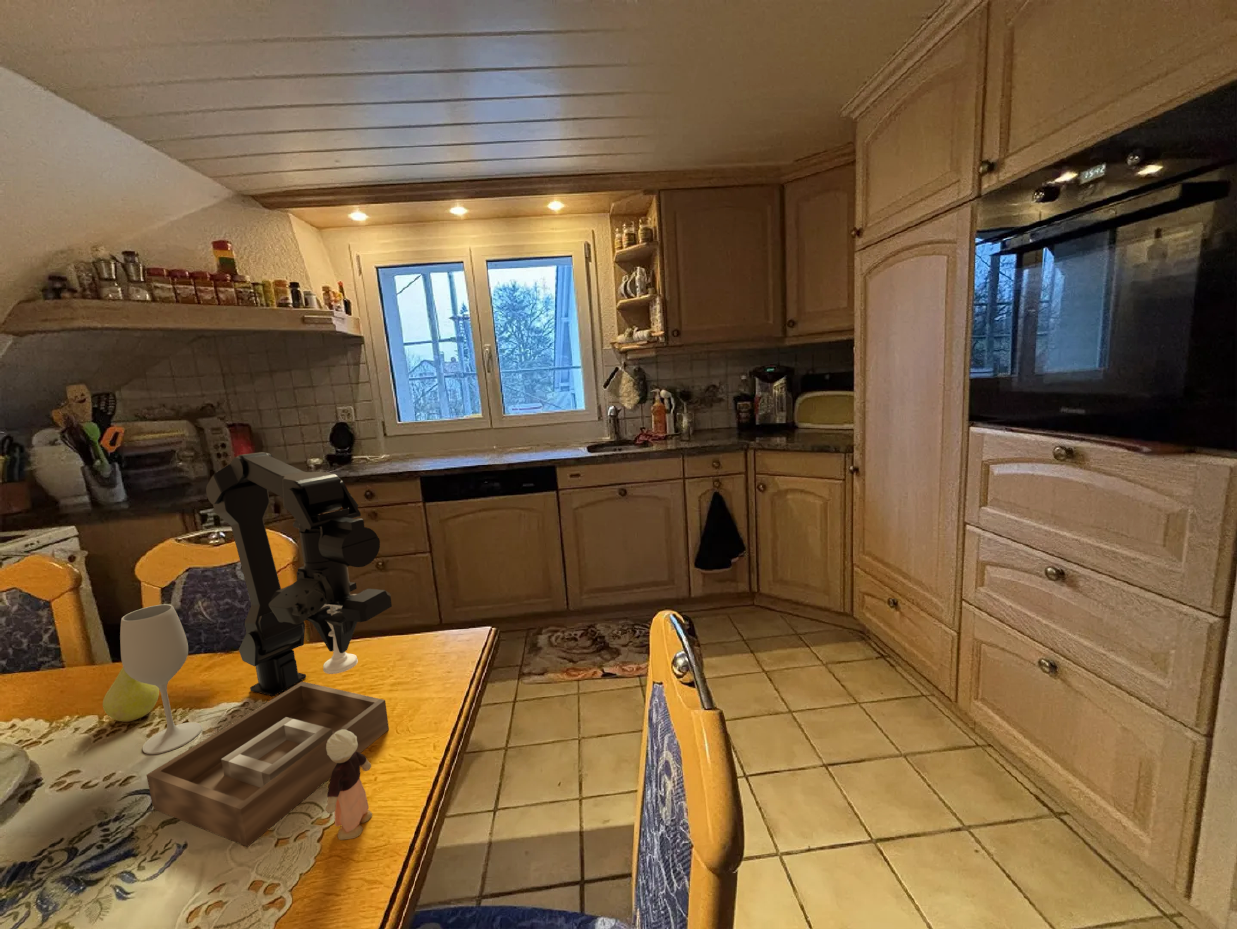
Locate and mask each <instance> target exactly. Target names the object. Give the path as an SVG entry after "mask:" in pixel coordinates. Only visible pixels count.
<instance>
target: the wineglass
mask: <svg viewBox="0 0 1237 929" xmlns="http://www.w3.org/2000/svg"><path fill="white" fill-rule="evenodd" d="M181 622H182V621H181V620H180V617H179V616H178V613H177V611H176V609H175V608H174V606H173V604H168V603H167V604H164V603H163V604H157V605H151V606H147V607H143V608H140V609H137V610H134V611H131V612H129V613H127V614H125V615H124V616H122V617H121V620H120V632H119V634H120V635H119V640H120V643H119V644H120V660H121V663H122V668H123V667H124V670H125V672H126V673H127V674H128V675H129V676H130V677H131V678H133V679H135V680H137V681H139V682H142V683H146V684H150V685H155V686H157V687H158V688H159V693H160V695H161V700H162V705H163V710H164V715H165V719H166V720H165V721H166V728H165V729H163V730H160V731H159V732H157V733H155V734H154V735H152V736H151V737H150V738H149V739H147V740H146V741H145V742H144V743H143V745H142V752H143V753H145V754H147V755H158V754H163V753H167V752H170V751H173V750H176V749H179V748H181V747H182V746H185V745H186V744H189V743H190V742H192V741H193V740H194V739H196V738H197V737H198V736H199V735H200V733H201V732H202V731H203V726H202V723H200V722H195V721H188V722H184V723H179V724H176V725H175V722H174V719H173V714H172V710H171V705H170V699H169V695H168V684H169V682H170V680H172V679H173V677H174V676H176V675H177V673H178V672H179V671H180V670H181V669H182V667H183V666H184V664H185V663H186V661H187V659H188V655H189V645H188V639H187V636H186V632H185V630H184V627H183V625H182V623H181Z"/></svg>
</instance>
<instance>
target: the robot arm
mask: <svg viewBox="0 0 1237 929" xmlns="http://www.w3.org/2000/svg"><path fill="white" fill-rule="evenodd" d="M205 488H206V489H205V490H206V492H205V493H206V496H207V499H208V502H209V503H211V505H212V506H213V507H212V508H214V509H213V510H214V512H215V514H216V515H217V516H218V517H220V518H221V519H222V520H223V521H224V522H225V523H227V524H228V525H229V526H230V528H231V532H232V536H233V539H234V543H235V547H236V550H237V555H238V558H239V562H240V566H241V570H242V573H243V578H244V582H245V585H246V589H247V592H248V598H249V601H250V608H249V610H248V612H247V615H246V618H245V619H244V629H245V635H244V637H243V640H242V641H241V644H240V647H239V648H238V651H239V654H240V658H241V660H242V662H244V663H246V664H249V665H250V666H253V667H254V668H255V670H256V671H255V672H256V675H257V676H256V678H257V683H256V684H253V685H252V686H251V687H250V688H249V690H250V691H252V692H255V693H258V694H263V695H266V696H267V695H268V696H270V697H276V696H278V694H279V695H280V694H282V693H283V691H284V692H285V691H287V690H288V689H290V688H292V687H293V686H295V685H297V684H298V683H300V682H302V680H304V679H306V677H307V674H306V673H301V672H299V671H298V664H297V660H296V656H295V651H294V649H296V648H299V647H303V646H304V644H305V636H306V635H305V631H306V623H305V621H308V622H310V623H311V624H312V625H313V627H314V628H315V629H316V631H317V632H318V634H319V636H320V637H321V640H322V641H323V642H324V645H325V647H326V648H327V649H328V651H329V652H333V637H331V636H329V635H328V634H329V632H330V631H332V629H331V628H330V626H329V624H328V623H330V624H332V625H333V628H334V633H335V637H336V642H337V646H338V649H339V652H340V653H344V652H347V651H348V650H349V645H350V643H351V640H352V638H353V634H354V631H355V629H356V627H357V624H358V623H363V622H368V621H370V620H371V619H373V618H375V617H376V616H378V615H379V614H381V613H383V612H385V611H387V610H388V609H390V608H392V598H391V596H392V595H391V593H390V592H388V591H387V590H385V589H376V588H366V589H364V590H362V591H361V592H359V593H352V592H353V591H355V590H357V589H358V588H357V583H356V582H354V581H353V582H352V581H350V575H349V568H348V567H352V568H363V567H366V566H368V565H370V564H371V563H372V562H373V561H374V560H375V559H376V557H377V556H378V554H379V552H380V547H381V540H380V538H379V536H378V534H377V533H376V532H375V531H374V529H371V528H369V527H368V526H367V527H366V526H365V520H364V519H363V518H359V517H361V512H360V510H359V508H358V507H359V504H358V503H357V501H356V500H355V499H354V497H353V496H352V494H351V493H350V492H349V490H348V488H347V486H346V484H345V482H344V481H343V480H342V479H341V478H340V477H339V476H338V475H337V474H335V473H330V472H324V471H314V472H313V471H310V472H309V471H303V470H301V469H300V468H297V467H295V466H293V465H290V464H288V463H286V462H284V461H282V460H280V459H277V458H276V457H275V458H274V457H273V455H272V454H271V453H269V452H264V451H259V452H252V453H245V454H239V455H237V456H234V457H233V459H232V460H231V462H230V463H229V464H227V465H226V466H225V467H223V468H221V469H220V470H218V471H217V472H215V473H213V474H212V476H211V477H210V479H209V481H208V483H207V485H206V487H205ZM269 492H271V493H273V494H275V495H277V496H279V497H281V498H282V499H283V503H282V504H283V508H284V509H286V510H287V511H288V513H290V515H291V516H292V517H293V518H294V519H295V521H294V522H293V523H292V526H293V528H295V529H298V534H299V540H300V545H301V554H302V560H303V561H302V562H303V566H301V567H298V568H297V571H296V581H294V582H293V583H291V584H290V585H288V586H285V587H281V583H280V580H279V575H278V572H277V568H276V564H275V561H274V560H275V559H274V557H273V552H272V549H271V548H272V547H271V545H270V541H269V537H268V534H267V528H266V525H265V520H264V518H265V515H266V513H267V510H268V507H269V506H270V505H269V504H270V496H269ZM331 606H332V607H335V611H334V613H335V614H334V615H332V616H331V613H327V610H329V609H330V607H331ZM327 622H328V623H327Z"/></svg>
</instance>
